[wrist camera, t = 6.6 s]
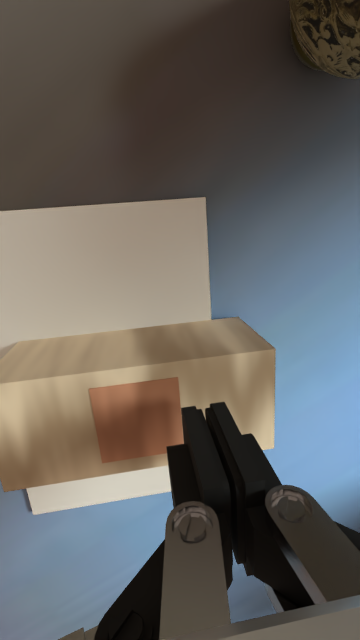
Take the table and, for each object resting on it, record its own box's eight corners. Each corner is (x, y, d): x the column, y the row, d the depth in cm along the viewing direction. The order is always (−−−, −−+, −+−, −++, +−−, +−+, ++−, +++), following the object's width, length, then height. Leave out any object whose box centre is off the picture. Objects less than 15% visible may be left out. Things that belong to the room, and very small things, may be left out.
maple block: (238, 316, 18) (18, 341, 17) (275, 349, 13) (-28, 387, 12) (239, 394, 20) (38, 422, 18) (274, 448, 15) (4, 492, 13)
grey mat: (-44, 214, 15) (-48, 214, 15) (203, 197, 16) (205, 197, 16) (35, 509, 20) (33, 514, 20) (217, 478, 22) (218, 483, 21)
